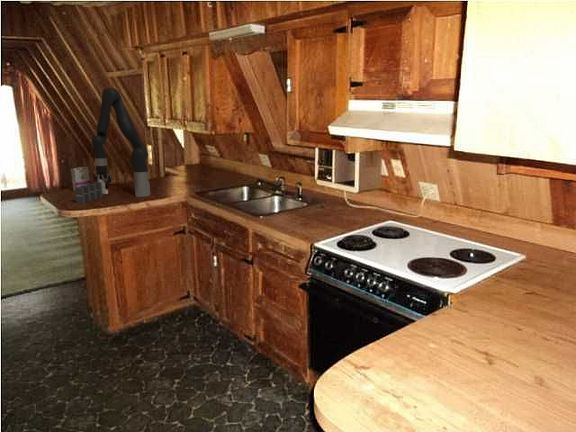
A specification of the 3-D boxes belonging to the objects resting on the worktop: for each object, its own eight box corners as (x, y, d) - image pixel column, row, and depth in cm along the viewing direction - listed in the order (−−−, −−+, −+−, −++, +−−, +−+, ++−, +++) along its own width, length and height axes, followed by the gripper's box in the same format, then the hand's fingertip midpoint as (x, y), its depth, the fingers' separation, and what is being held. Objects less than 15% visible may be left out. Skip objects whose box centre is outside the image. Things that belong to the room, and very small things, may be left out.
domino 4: (96, 196, 314) (95, 181, 312) (102, 196, 313) (101, 182, 310) (94, 196, 312) (93, 182, 310) (100, 197, 311) (99, 183, 308)
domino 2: (84, 200, 303) (83, 185, 300) (91, 200, 302) (89, 185, 299) (82, 200, 301) (81, 186, 298) (89, 201, 300) (87, 186, 297)
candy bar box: (87, 188, 337) (85, 166, 332) (91, 189, 334) (88, 167, 329) (72, 190, 328) (70, 168, 324) (76, 191, 325) (73, 169, 321)
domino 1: (78, 202, 298) (77, 187, 295) (85, 202, 296) (83, 187, 294) (76, 202, 296) (74, 187, 293) (83, 203, 294) (81, 188, 292)
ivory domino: (101, 192, 320) (100, 178, 317) (108, 193, 318) (106, 179, 316) (100, 193, 318) (98, 179, 315) (106, 194, 317) (104, 179, 314)
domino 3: (90, 198, 309) (89, 183, 306) (97, 198, 308) (95, 184, 305) (88, 198, 307) (87, 184, 304) (95, 199, 306) (93, 184, 303)
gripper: (113, 164, 314) (115, 188, 319) (95, 163, 318) (98, 187, 322) (107, 166, 307) (109, 190, 312) (88, 164, 311) (91, 189, 315)
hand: (103, 188), depth 317 cm, fingers closed on ivory domino, 4 cm apart
